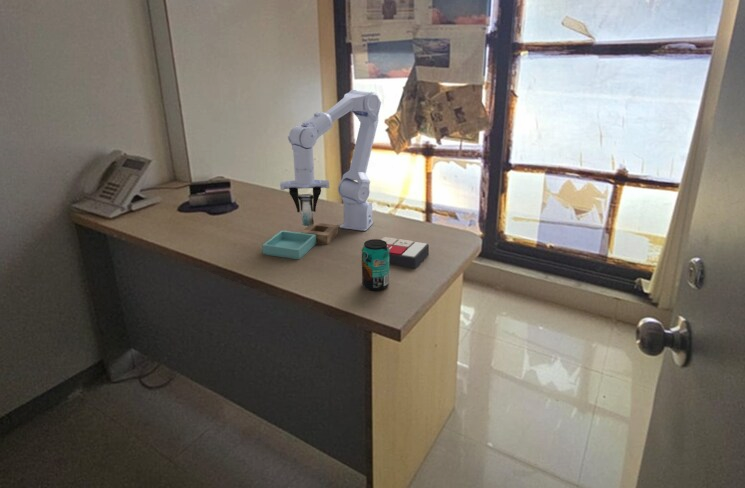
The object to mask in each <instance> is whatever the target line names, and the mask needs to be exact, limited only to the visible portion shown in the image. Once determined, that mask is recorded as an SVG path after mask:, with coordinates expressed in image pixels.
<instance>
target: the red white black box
mask: <svg viewBox="0 0 745 488" xmlns="http://www.w3.org/2000/svg"><path fill="white" fill-rule="evenodd" d="M380 240H383V241H385V242H386V243H387V247H388V248H389V265H395V266H400V267H402V268H406V269H410V270H411V269H412V270H416V269H417V268H418V267H419V266H420V265H421V264H422V263H424V261H425V260H426V259H427V257H428V256H429V254H430V252H429V251H430V250H429V249H430V248H429V244H428V243H424V242H418V241H417V242H416V241H414V240H407V239H403V238H402V239H398V238H394V237H389V236H387V237H386V236H384V237H382V238H381V239H380Z"/></svg>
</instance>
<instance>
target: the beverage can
mask: <svg viewBox="0 0 745 488" xmlns="http://www.w3.org/2000/svg"><path fill="white" fill-rule="evenodd" d="M363 244H364V245H363V247H362V248H361V281H362V282H361V285H363V287H364V288H365V289H367V290H369V291H374V292H377V291H378V292H379V291H383V290H384V289H386V288H388V287H389V285H390V264H389V248H388V247H387V243H386V242H385V241H383V240H381V239H378V238H375V239H374V238H373V239H368V240H366V241H365V242H364V243H363Z"/></svg>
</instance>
